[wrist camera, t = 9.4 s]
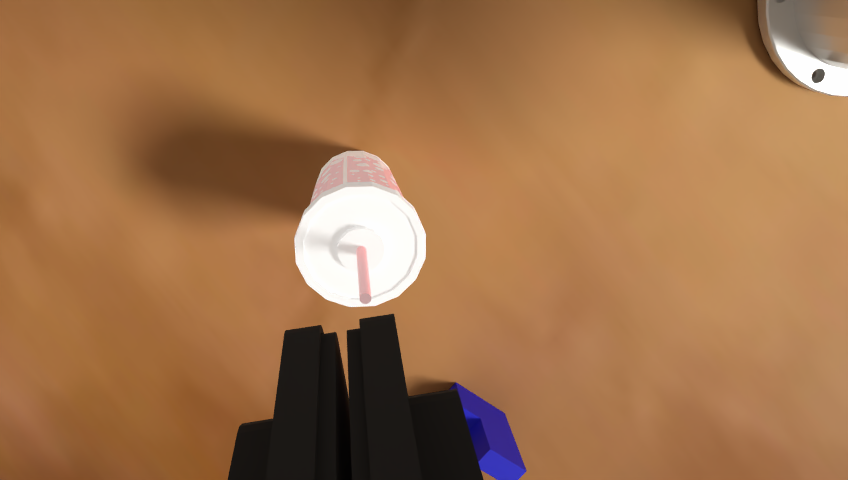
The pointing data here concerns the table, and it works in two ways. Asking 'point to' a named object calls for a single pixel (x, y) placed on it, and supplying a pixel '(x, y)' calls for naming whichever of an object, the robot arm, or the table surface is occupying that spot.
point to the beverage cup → (359, 233)
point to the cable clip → (491, 437)
